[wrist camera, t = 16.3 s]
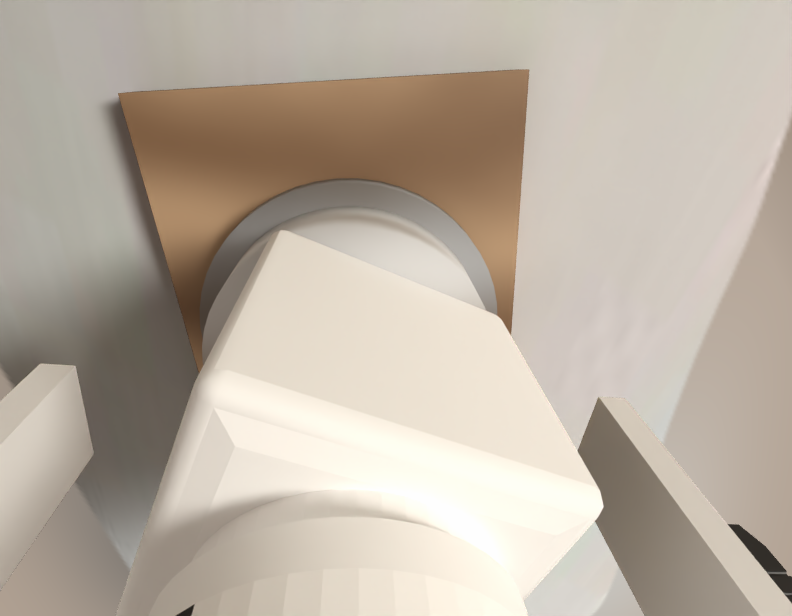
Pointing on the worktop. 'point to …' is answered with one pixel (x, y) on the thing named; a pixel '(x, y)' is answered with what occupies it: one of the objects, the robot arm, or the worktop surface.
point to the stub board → (336, 182)
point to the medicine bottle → (359, 457)
